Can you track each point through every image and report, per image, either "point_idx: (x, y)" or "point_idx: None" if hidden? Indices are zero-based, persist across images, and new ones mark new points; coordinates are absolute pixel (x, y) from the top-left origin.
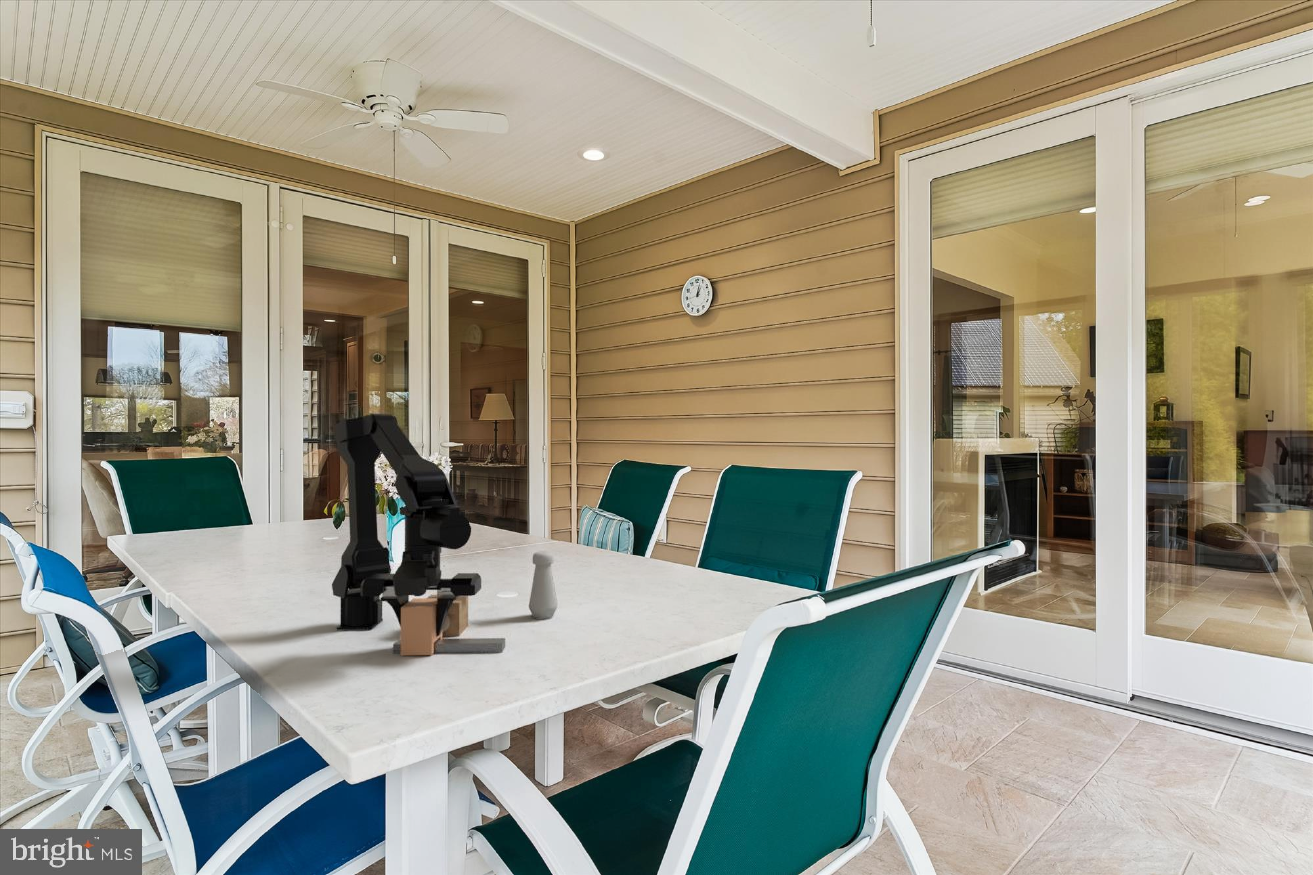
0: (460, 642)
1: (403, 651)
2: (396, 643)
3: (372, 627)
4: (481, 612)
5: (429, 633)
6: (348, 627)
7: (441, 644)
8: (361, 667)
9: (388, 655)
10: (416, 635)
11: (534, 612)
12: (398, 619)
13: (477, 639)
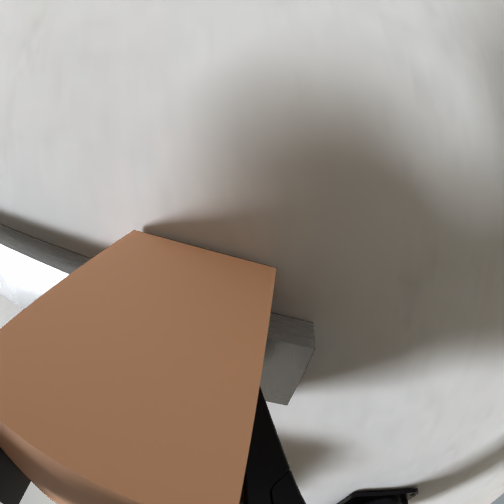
0: (34, 272)
1: (261, 271)
2: (298, 356)
3: (349, 496)
4: None
5: (82, 275)
6: (399, 493)
7: None
8: (445, 151)
9: (333, 299)
10: (161, 295)
11: None
12: (282, 460)
13: (7, 288)
